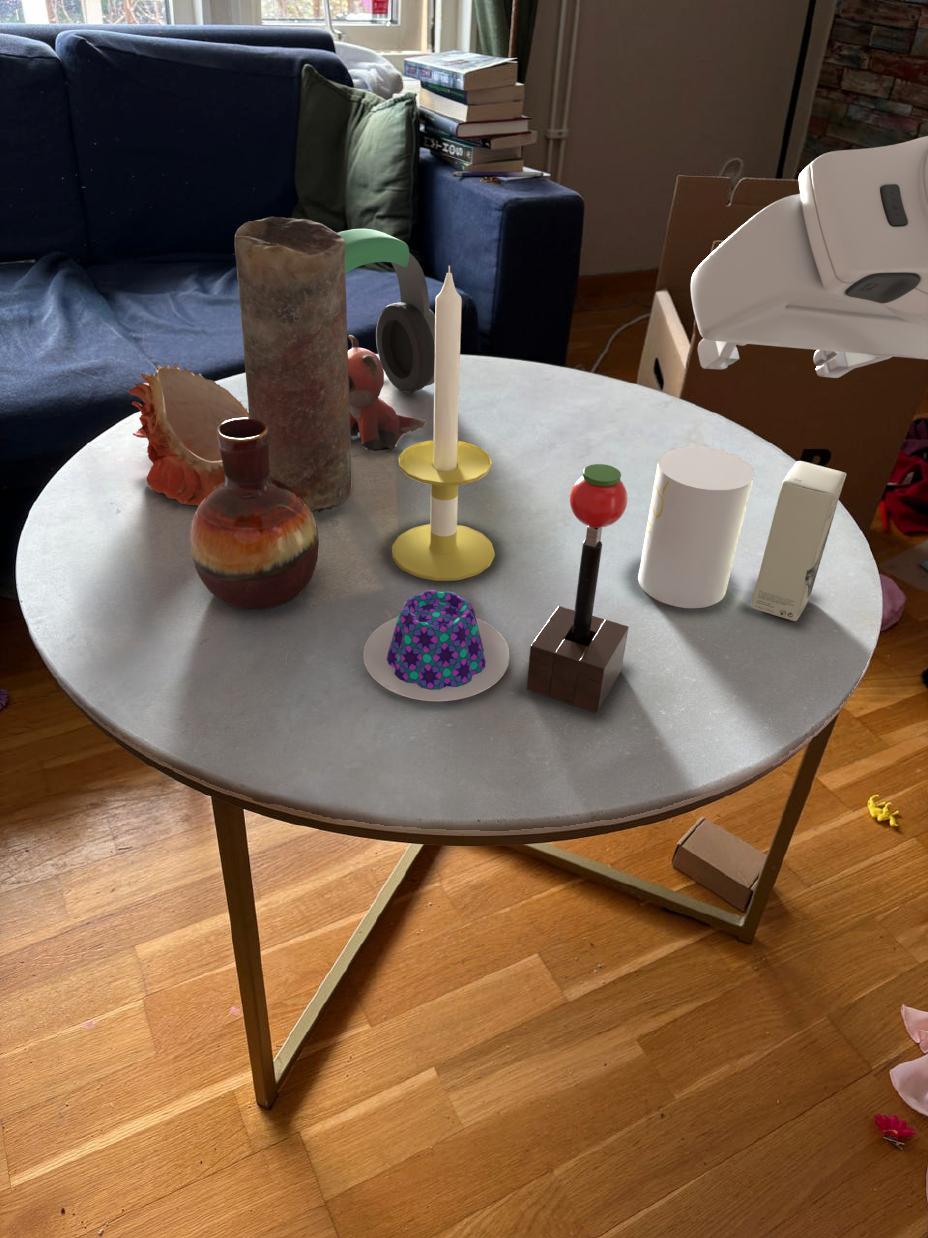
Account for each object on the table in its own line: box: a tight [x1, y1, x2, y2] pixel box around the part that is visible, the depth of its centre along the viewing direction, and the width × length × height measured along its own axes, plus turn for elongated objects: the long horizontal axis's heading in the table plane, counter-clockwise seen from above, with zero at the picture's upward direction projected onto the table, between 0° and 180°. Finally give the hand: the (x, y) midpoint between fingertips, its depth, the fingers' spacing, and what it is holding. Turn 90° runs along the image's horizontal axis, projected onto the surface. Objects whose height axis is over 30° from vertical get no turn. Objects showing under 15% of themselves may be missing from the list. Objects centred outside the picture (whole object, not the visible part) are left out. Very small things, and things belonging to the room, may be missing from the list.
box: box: [750, 460, 847, 622], centre depth 82 cm, size 5×4×13 cm
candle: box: [391, 265, 496, 582], centre depth 83 cm, size 10×10×27 cm
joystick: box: [569, 463, 628, 647], centre depth 70 cm, size 4×4×19 cm
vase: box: [189, 418, 320, 611], centre depth 81 cm, size 11×11×15 cm
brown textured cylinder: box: [234, 216, 353, 513], centre depth 90 cm, size 10×10×27 cm
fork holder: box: [526, 605, 630, 714], centre depth 75 cm, size 6×6×4 cm
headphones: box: [337, 228, 435, 393], centre depth 114 cm, size 19×11×20 cm, turn 126°
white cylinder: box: [637, 445, 755, 609], centre depth 84 cm, size 8×8×12 cm
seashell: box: [127, 362, 249, 506], centre depth 100 cm, size 17×11×15 cm
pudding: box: [362, 589, 511, 702], centre depth 76 cm, size 12×12×5 cm
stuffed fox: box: [347, 334, 428, 453], centre depth 106 cm, size 8×11×12 cm
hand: (767, 362), depth 59 cm, fingers open, 8 cm apart
